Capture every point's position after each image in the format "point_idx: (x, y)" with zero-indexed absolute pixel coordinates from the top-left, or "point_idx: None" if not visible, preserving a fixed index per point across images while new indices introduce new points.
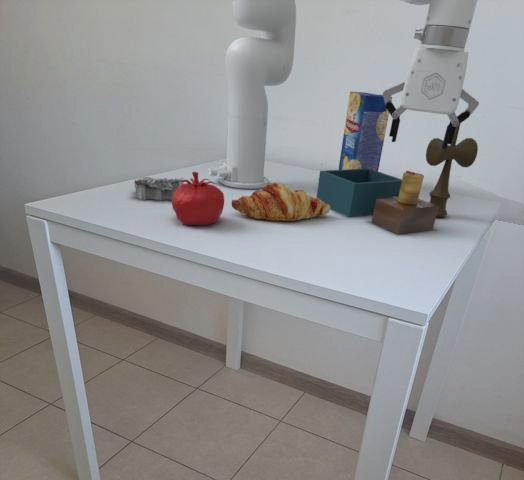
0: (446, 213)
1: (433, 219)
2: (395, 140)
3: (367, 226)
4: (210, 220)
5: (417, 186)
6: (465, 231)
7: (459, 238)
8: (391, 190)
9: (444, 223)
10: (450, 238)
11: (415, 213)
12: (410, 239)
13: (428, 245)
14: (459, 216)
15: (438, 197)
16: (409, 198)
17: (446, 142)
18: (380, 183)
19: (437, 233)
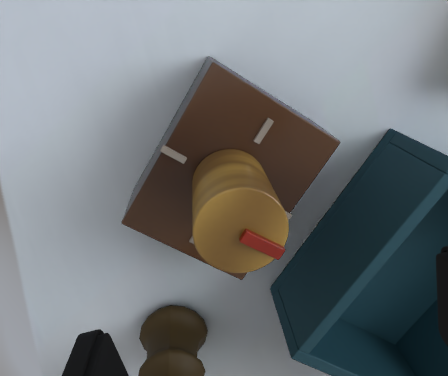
0: (140, 335)
1: (132, 195)
2: (442, 254)
3: (315, 73)
4: None
5: (202, 187)
6: (52, 246)
7: (40, 166)
8: (317, 294)
9: (127, 277)
10: (61, 145)
11: (176, 122)
12: (158, 36)
13: (89, 13)
14: None
15: (166, 348)
16: (218, 158)
17: (79, 361)
18: (364, 265)
19: (110, 166)
